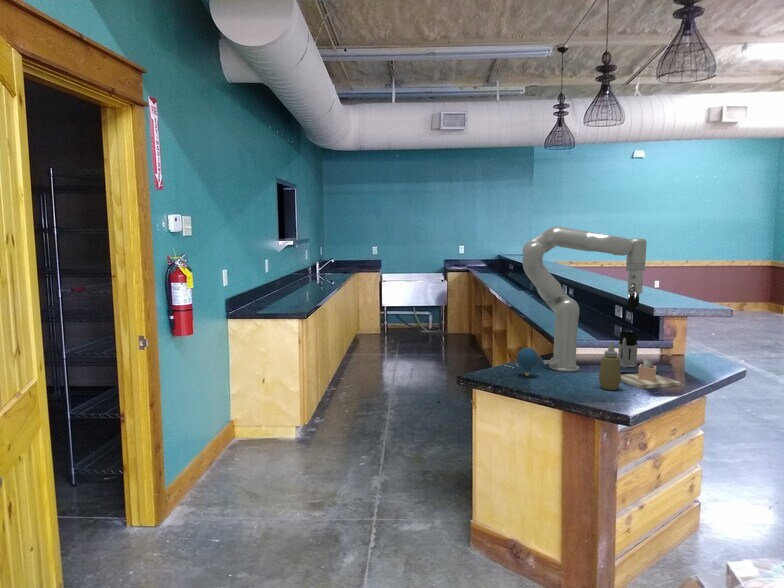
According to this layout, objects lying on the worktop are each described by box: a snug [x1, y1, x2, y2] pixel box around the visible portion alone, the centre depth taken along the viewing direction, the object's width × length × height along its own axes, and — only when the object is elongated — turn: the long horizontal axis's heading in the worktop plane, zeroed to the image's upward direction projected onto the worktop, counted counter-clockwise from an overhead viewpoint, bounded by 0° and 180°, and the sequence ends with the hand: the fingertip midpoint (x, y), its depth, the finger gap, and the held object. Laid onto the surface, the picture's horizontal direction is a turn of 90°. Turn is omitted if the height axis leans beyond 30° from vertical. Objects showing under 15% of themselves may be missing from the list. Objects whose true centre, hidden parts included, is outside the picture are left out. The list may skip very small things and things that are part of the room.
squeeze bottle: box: [598, 341, 622, 391], centre depth 210 cm, size 8×8×18 cm
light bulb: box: [517, 347, 539, 377], centre depth 228 cm, size 8×8×12 cm
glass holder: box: [617, 331, 638, 368], centre depth 248 cm, size 9×14×15 cm, turn 144°
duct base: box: [621, 357, 682, 390], centre depth 220 cm, size 18×16×10 cm
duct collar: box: [637, 363, 657, 381], centre depth 220 cm, size 6×6×5 cm
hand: (633, 306), depth 237 cm, fingers open, 9 cm apart
